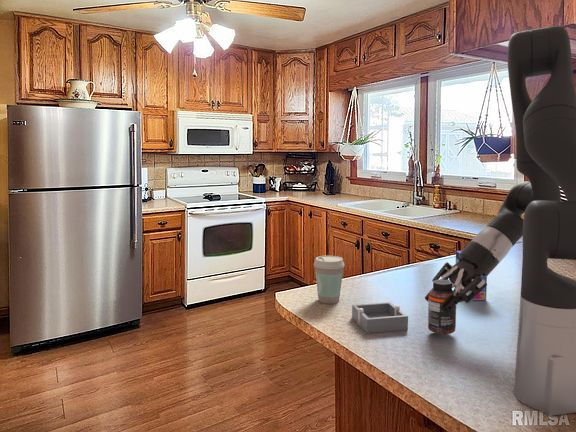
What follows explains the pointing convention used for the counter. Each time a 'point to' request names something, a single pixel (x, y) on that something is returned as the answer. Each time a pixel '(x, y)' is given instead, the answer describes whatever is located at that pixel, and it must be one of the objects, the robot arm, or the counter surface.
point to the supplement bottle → (436, 316)
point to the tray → (379, 317)
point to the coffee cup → (329, 278)
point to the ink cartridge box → (483, 293)
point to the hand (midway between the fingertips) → (435, 305)
